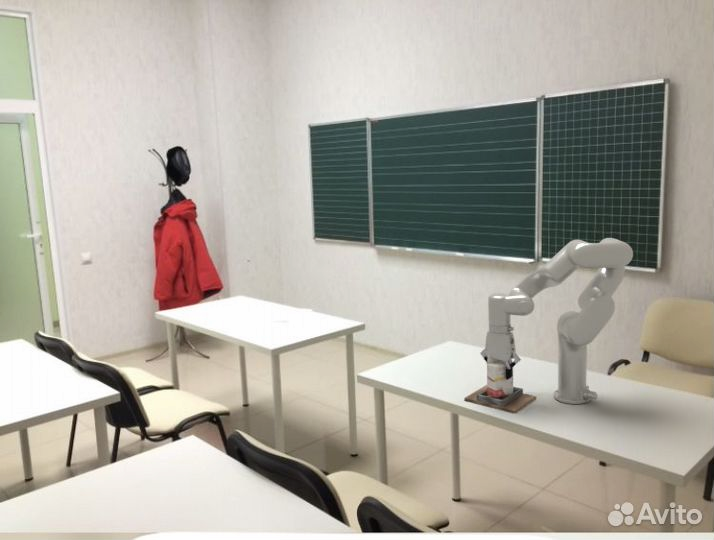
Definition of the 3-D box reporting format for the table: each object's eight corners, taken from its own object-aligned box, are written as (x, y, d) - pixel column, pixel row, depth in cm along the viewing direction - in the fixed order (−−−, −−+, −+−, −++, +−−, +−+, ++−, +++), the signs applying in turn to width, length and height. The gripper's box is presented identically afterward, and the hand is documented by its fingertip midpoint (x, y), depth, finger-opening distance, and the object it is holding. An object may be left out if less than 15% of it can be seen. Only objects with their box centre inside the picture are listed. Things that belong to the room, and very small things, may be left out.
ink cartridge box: (496, 398, 217) (495, 358, 214) (486, 394, 221) (486, 355, 219) (514, 392, 221) (513, 353, 219) (504, 388, 225) (503, 350, 223)
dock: (535, 398, 221) (535, 390, 220) (514, 413, 209) (514, 405, 209) (486, 387, 234) (486, 379, 234) (464, 400, 222) (464, 392, 222)
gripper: (527, 329, 214) (527, 378, 217) (483, 322, 225) (484, 369, 229) (516, 334, 208) (517, 384, 212) (472, 327, 220) (473, 375, 223)
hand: (500, 376), depth 220 cm, fingers closed on ink cartridge box, 6 cm apart
